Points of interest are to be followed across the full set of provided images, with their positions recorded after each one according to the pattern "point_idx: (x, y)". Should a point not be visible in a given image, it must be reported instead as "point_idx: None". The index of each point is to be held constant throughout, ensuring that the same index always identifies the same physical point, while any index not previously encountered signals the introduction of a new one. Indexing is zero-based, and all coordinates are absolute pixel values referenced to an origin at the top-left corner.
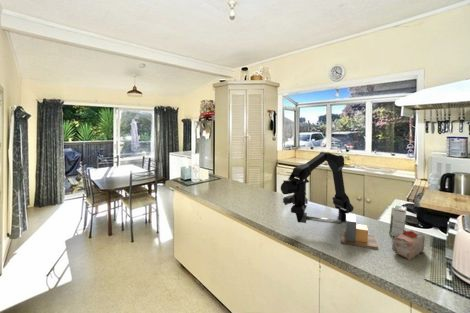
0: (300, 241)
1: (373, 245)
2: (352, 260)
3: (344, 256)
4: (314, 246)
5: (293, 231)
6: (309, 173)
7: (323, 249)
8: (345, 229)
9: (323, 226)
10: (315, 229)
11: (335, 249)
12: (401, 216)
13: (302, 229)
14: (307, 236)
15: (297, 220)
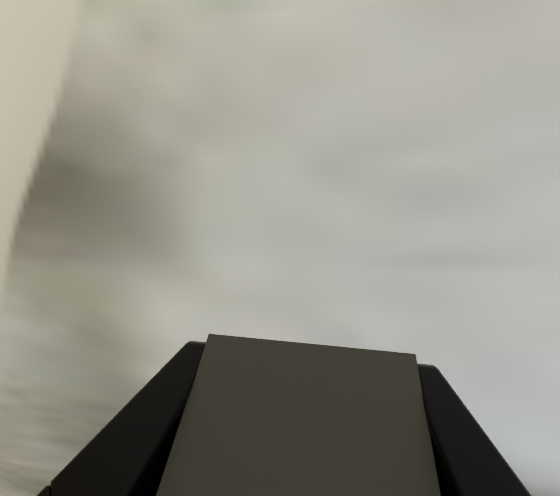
0: (23, 235)
1: None
2: (3, 491)
3: (18, 474)
4: (16, 350)
5: (303, 119)
6: None
7: (17, 398)
8: None
9: (551, 447)
10: (448, 382)
11: (77, 454)
12: None
13: (422, 251)
14: (206, 304)
15: (157, 374)
